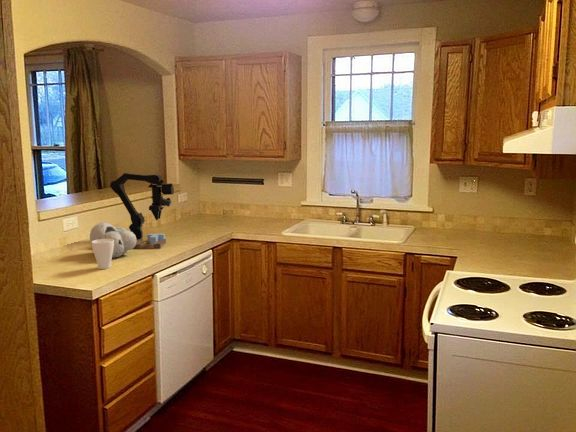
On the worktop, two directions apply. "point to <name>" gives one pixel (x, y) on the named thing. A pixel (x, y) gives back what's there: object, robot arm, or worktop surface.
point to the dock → (149, 245)
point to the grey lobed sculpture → (114, 238)
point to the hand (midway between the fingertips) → (158, 219)
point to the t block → (155, 238)
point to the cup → (103, 252)
